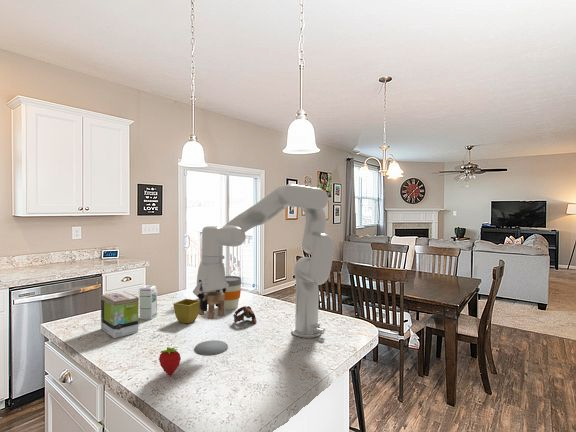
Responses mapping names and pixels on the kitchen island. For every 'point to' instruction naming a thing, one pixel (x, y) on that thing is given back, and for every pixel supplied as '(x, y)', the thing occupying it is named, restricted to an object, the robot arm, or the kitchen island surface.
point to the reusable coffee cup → (232, 292)
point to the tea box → (119, 314)
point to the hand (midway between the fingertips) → (211, 308)
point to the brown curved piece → (244, 314)
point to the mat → (211, 347)
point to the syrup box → (148, 302)
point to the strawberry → (169, 360)
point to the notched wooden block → (211, 301)
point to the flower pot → (186, 310)
